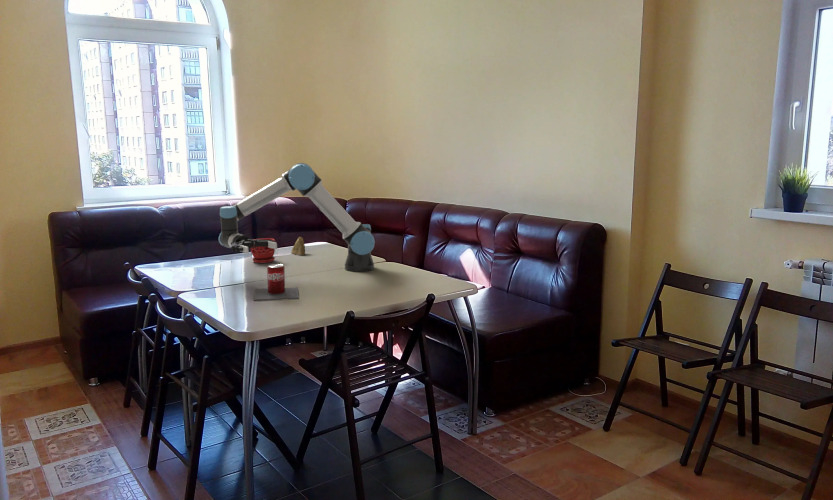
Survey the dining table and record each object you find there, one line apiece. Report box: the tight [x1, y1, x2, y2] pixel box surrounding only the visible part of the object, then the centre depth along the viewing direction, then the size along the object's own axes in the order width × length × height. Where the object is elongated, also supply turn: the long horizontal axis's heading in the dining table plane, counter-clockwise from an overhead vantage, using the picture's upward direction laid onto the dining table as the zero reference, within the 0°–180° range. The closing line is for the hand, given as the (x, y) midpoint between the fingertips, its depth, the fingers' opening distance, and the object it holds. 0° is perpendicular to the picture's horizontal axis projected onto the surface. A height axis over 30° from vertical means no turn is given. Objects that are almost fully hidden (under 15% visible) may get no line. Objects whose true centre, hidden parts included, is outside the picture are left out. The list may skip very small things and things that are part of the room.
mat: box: [253, 286, 300, 302], centre depth 262 cm, size 18×18×1 cm
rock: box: [290, 236, 306, 256], centre depth 352 cm, size 11×9×10 cm
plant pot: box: [249, 237, 276, 264], centre depth 330 cm, size 13×13×12 cm
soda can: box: [266, 263, 286, 295], centre depth 261 cm, size 7×7×12 cm
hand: (262, 248), depth 266 cm, fingers open, 13 cm apart
